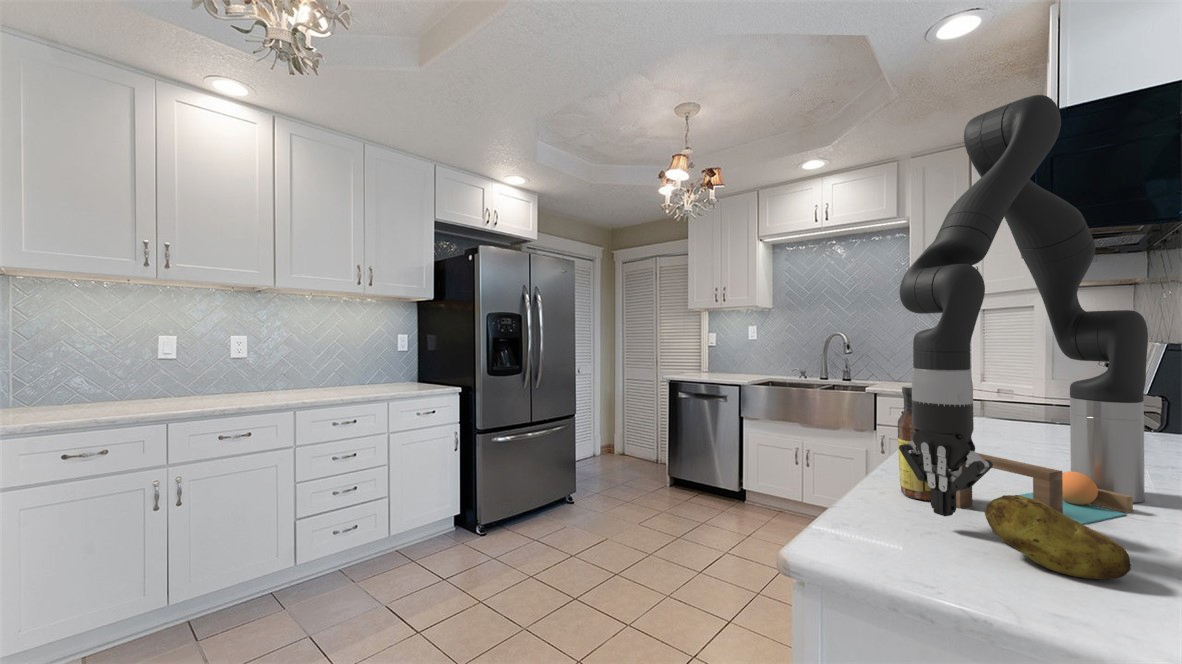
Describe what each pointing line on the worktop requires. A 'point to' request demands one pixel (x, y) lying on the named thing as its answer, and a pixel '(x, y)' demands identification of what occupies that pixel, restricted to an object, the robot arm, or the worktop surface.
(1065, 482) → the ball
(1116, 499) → the stopper strip
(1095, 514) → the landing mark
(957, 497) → the bridge
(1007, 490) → the worktop surface
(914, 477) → the sauce bottle
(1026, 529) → the potato
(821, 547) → the worktop surface
